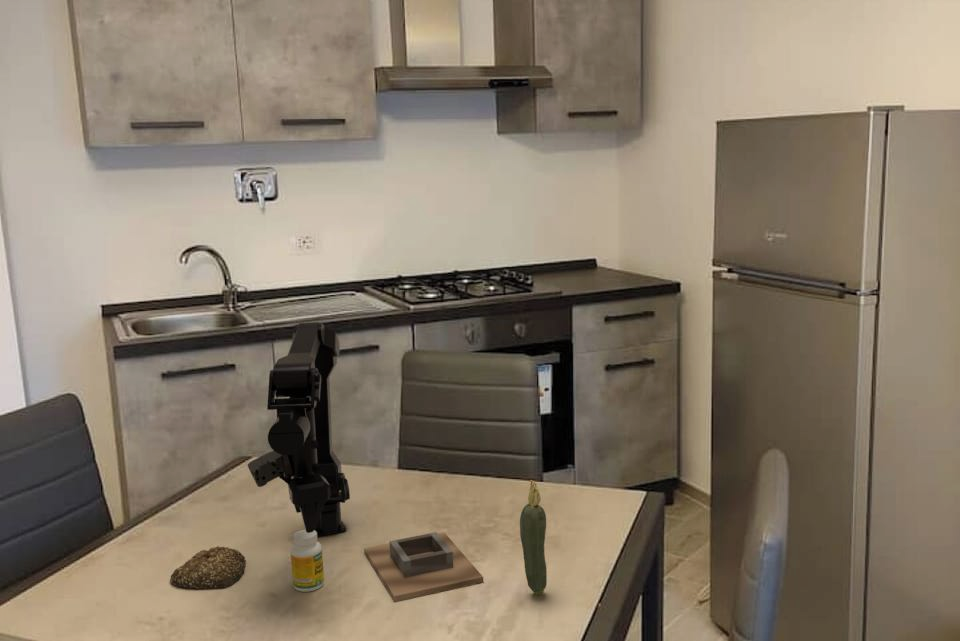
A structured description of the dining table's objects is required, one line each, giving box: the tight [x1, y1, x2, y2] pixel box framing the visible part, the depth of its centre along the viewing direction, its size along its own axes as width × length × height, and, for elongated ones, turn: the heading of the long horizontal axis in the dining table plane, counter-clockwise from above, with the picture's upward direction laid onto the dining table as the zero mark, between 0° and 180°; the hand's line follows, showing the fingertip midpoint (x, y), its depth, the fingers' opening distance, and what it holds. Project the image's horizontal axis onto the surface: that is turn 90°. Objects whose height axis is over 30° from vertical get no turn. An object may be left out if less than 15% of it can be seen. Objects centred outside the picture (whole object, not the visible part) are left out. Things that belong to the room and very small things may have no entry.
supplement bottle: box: [290, 528, 325, 593], centre depth 151 cm, size 5×5×10 cm
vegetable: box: [519, 479, 548, 596], centre depth 144 cm, size 4×4×20 cm
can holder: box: [363, 531, 484, 603], centre depth 157 cm, size 20×16×4 cm
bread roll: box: [169, 546, 247, 590], centre depth 158 cm, size 13×12×5 cm
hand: (304, 521), depth 150 cm, fingers open, 9 cm apart
